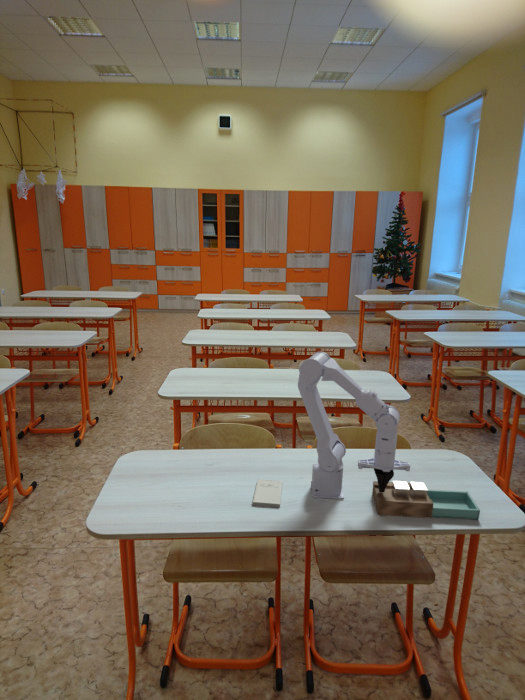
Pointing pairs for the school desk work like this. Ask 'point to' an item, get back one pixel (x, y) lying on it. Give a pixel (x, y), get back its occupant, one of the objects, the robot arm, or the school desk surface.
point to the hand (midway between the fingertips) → (381, 490)
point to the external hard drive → (268, 493)
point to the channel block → (400, 503)
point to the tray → (453, 504)
